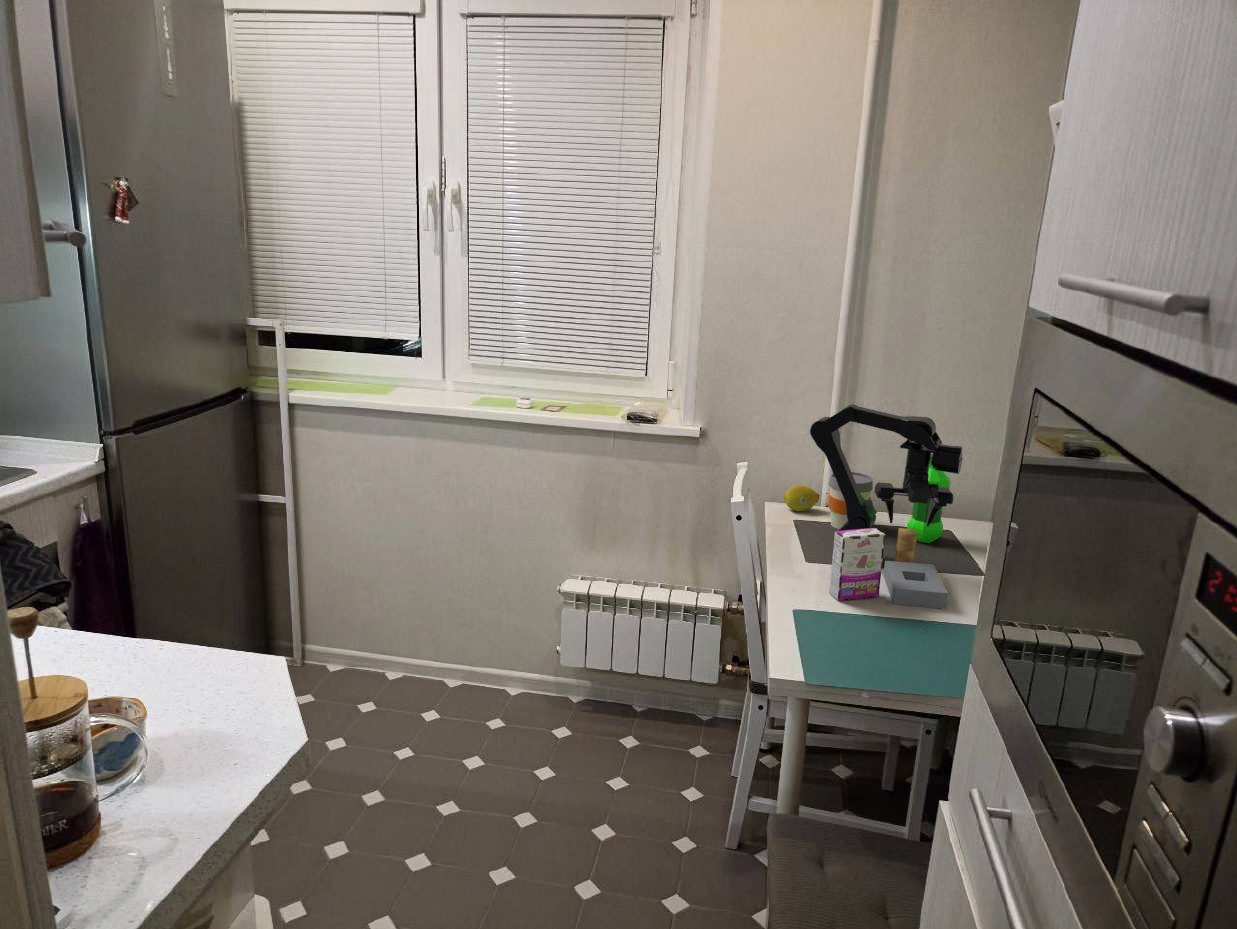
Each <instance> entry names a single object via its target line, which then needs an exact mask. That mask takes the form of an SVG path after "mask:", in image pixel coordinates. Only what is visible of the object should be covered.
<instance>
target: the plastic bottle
mask: <svg viewBox="0 0 1237 929" xmlns="http://www.w3.org/2000/svg"><path fill="white" fill-rule="evenodd" d="M932 457H933V453H931V458H930V465H929V472H928V474H929V475H928V482H929V484H938V487H945V488H948V489H949V490H950V489H951V482H952V481H951V480H950V477H949V476H948V475H947V474H946V472H944V471H938V470H935V468H933V466H932ZM930 500H931V499H930V498H929V501H928V503H926V504H923V503H918V502H915V503H913V505H912V506H913V507H912V513H911V517H910V519H909V520H908V523H907V525H906V529H915V531H916V533H917V539H916V542H919V543H922V544H923V543H926V544H929V543H933V542H934V541H936V540H938V538H940V536H941V535H942V533H943V530H944V524H943V521H942V513H943V507H941V508H940V509H939V510H938V511H937V513H936V514H935V516H934V518H933V519H932V521H931V523H930V525H929V526H926V522H927V515H928V510H929V505H930Z"/></svg>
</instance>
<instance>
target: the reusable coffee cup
mask: <svg viewBox="0 0 1237 929" xmlns="http://www.w3.org/2000/svg"><path fill="white" fill-rule="evenodd" d="M851 472H852V475H853V477H854V480H855V482H856V484H857V487H858V489H859V491H860V494H861V496H862V497H863V498H864V499H865V500H866V501H868V500H869V499H871V500H872V498H871V492H872V491H873V485H874V484H873V483H874V480H873V478H872V476H869V475H868V474H866V473H865V474H864V473H861V472H857V471H851ZM829 476H830V477H829V481H828V486H829V492H828V508H829V510H830V525H831V527H833V528H835V529H838V530H839V529H840V528H841V527H842V526H843V525H844V524H845V523H846V522H847V521H848V519H847V515H846V503H845V500H844V498H843V495H842V493H841V490H840V488H839V486H838V483H837V481H836V479H835V476H834V474H833V472H832V473H830V475H829Z"/></svg>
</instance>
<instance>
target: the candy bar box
mask: <svg viewBox="0 0 1237 929" xmlns="http://www.w3.org/2000/svg"><path fill="white" fill-rule="evenodd" d="M833 536H834V538H833V539H834V540H833V549H832V561H831V572H830V582H829V584H830V585H829V595H830V596H832V598H834V599H835V600H836V601H837V602H845V601H847V602H848V601H856V600H866V599H873V598H879V597H880V587H881V580H882V579H881V578H882V567H883V559H884V551H885V550H884V549H885V541H886V540H885V539H886V534H885V533H884V532H882V531H881V530H880V529H878V528H877V527H871V528H869V529H856V530H844V531H839V530H835V531H834V535H833Z"/></svg>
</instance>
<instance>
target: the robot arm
mask: <svg viewBox="0 0 1237 929" xmlns="http://www.w3.org/2000/svg"><path fill="white" fill-rule="evenodd" d="M850 422H851V423H855V424H861V425H864V426H868V427H873V428H877V429H881V430H884V431H889V432H893V433H895V434H898V435H900V436H901V437H903V438H904V439H906V440H905V441H904V442H902V443H901V444H900V445H899V448H900V449H905V450H907V453H906V459H905V460H906V461H905V467H904V476H903V482H902V487H894V485H893V484H892V482H891V483H890V482H879V481H878V482H877V483H876V484H875V486H874V494H875V496H876V498H878V499H880V500H881V501H882V502H884V503H885V506H886V508H887V515H888V518H889V519H888V520H889V523H890V524H893V521H894V502H895V500H894V499H893V497H894V496H902V497H907V498H908V499H907V500H908V501H909V503H913V504H914V503H915V502H918V503H923V504H926V503H928V501H929V498H930V499H931V500H930V505H929V510H928V515H927V522H926V526H929V525H930V523H931V521H932V519H933V518H934V516H935V514H936V513H937V511H938V510H939V509H940V508H941V507H942V508H943V507H945V508H946V507H947V505H952V504H954V494H953V492H952V491H951V490H950V489H948V488H945V487H938V484H929V482H928V475H929V474H928V472H929V465H930V458H931V453H932V454H933V457H932V466H933V468H935V470H938V471H943V472H944V473H951V474H956V475H959V474H960V472H961V469H962V464H963V460H964V457H963V446H960V445H956V446H955V445H948V444H943V441H942V440H941V437H940V436H939V434H938V433H937V426H936V423H935V421H934V420H933V419H932V418H930V417H928V416H918V415H917V416H914V415H912V416H911V415H909V416H908V415H907V416H902V415H897V414H894V413H892V414H891V413H887V412H884V411H880V410H876V409H870V408H866V407H862V406H858V405H857V404H854V403H851V404H848V405H847V406H845V407H843V409H842V410H840V411H839V412H836V413H835V414H834V415H832V416H824V417H821V418H820V419H818V420H816V421H815V422H813V423H812V424H811V426H810V429H809V435H810V436H811V439H812V440H813V442H814V443H815V444H816V446H817V447H818V449H820V450H821V451H822V453H823V454H824V455H825V458H826V459H827V462H828V464H829V467H830V469H831V472H832V473H833V474H834V476H835V479H836V481H837V483H838V486H839V488H840V490H841V493H842V495H843V498H844V500H845V503H846V515H847V519H848V521H847V522H846V523H845V524H844V525H843V526H842V527H841V528H840V529H838V531H844V530H856V529H869V528H873V526H874V525H875V523H876V520H877V515H876V514H877V513H878V511H877V510H876V509H875V506H874V503H873V500H872V498H871V499H869V500H868V501H866V500H865V499H864V498H863V497H862V496H861V494H860V491H859V489H858V487H857V484H856V482H855V480H854V477H853V475H852V472H853V471H852V470H851V468H850V465H849V464H848V461H847V458H846V456H845V453H844V451H843V449H842V446H841V445H842V444H841V443H842V442H841V433H840V428H842V427H844V426H845V425H847V424H848V423H850Z"/></svg>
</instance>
